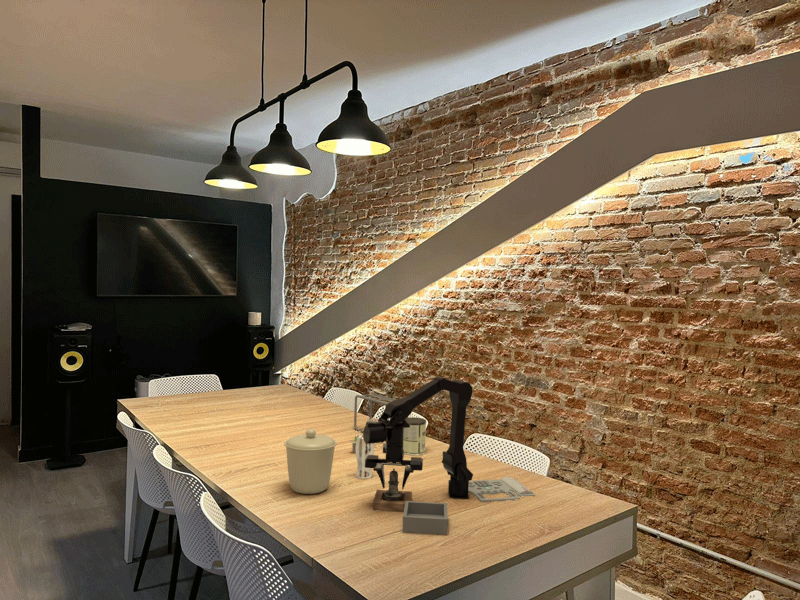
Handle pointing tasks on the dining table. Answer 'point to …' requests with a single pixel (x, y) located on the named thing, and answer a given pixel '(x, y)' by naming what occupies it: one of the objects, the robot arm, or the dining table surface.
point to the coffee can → (414, 436)
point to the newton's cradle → (370, 406)
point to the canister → (309, 461)
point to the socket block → (390, 505)
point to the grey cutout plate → (498, 489)
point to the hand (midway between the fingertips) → (393, 488)
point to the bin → (425, 517)
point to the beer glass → (363, 457)
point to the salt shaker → (393, 487)
